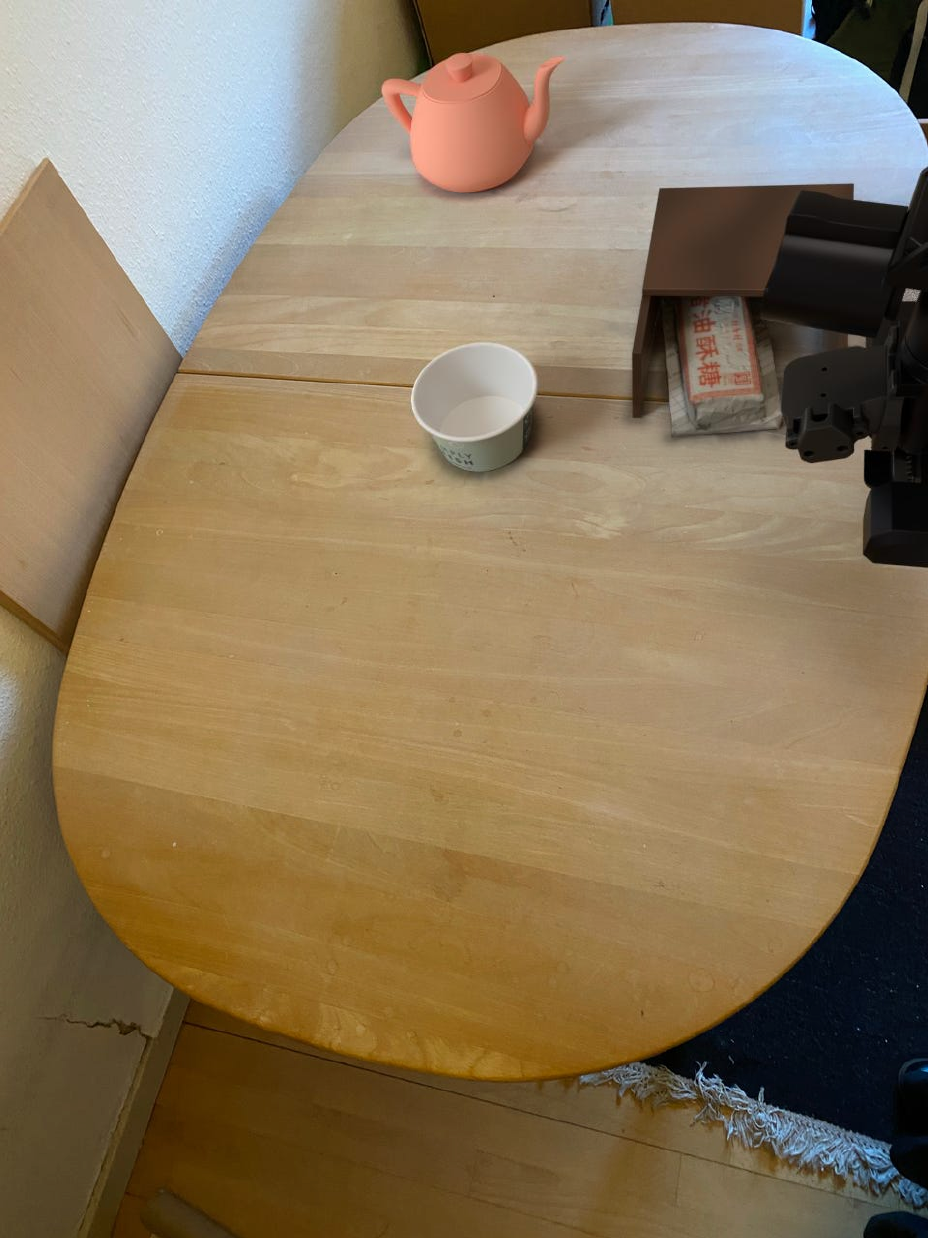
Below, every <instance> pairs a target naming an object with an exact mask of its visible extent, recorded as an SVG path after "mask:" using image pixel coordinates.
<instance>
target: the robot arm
mask: <svg viewBox="0 0 928 1238" xmlns="http://www.w3.org/2000/svg"><path fill="white" fill-rule="evenodd" d="M917 178H918V179H917V182H916V185H915V186H914V187H915V188H914V190H913V193H912V196H911V198H910V202H909V205H901V204H893V203H885V202H875V201H867V200H858V199H854V200H852V199H844V198H839V197H836V196H833V195H830V194H827V193H823V192H816V191H807V190H801V191H799V192H798V193H797V194H796V197H795V199H794V202H793V204H792V206H791V209H790V211H789V214H788V216H787V220H786V225H785V231H784V235H783V238H782V241H781V244H780V248H779V251H778V254H777V258H776V261H775V265H774V268H773V270H772V272H771V275H770V277H769V280H768V282H767V285H766V287H765V290H764V294H763V300H762V306H761V319H763V320H767V321H768V322H776V323H782V324H786V325H787V324H788V325H792V326H798V327H805V328H811V329H814V330H815V329H816V330H822V331H823V330H827V331H833V332H839V333H844V334H848V335H851V336H856V337H862V338H865V347H864V346H860V345H852V346H848V347H846V348H841V349H837V350H832V351H827V352H822V351H821V352H818V353H814V354H808V355H804V356H799V357H797V358H794V359H792V360H790V361H789V362H788V363H787V364H786V366H785V367H784V368H783V372H782V384H781V395H780V401H781V413H782V416H783V417H782V420H783V422H784V425H785V439H784V440H785V443H784V446H785V448H786V449H788V450H792V451H794V450H795V451H796V450H797V451H798V454H799V458H800V460H801V461H803V462H805V463H808V464H818V463H823V462H824V463H825V462H831V461H837V460H839V461H840V460H845V459H847V458H849V457H851V456H852V455H853V454H854V453H855V444H856V443H857V442H858V441H861V440H864V439H866V438H869V439H870V449H864V450H863V482H864V484H865V486H866V487H867V488H869V489H870V490H869V493H868V495H867V497H866V499H865V500H866V501H865V506H864V511H863V517H862V555H863V556H864V557H865V558H866V559H867V560H868V561H869V562H871V563H872V564H876V565H887V566H898V567H911V568H923V569H928V166H926V167H925V168H923V169H922V170H921V171H920V172H919V176H918V177H917ZM906 290H913V291H919V293H918V295H917V299H916V300H904V296H905V293H906Z"/></svg>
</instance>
